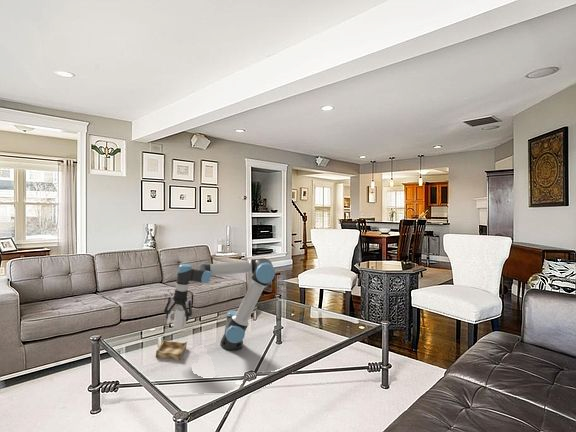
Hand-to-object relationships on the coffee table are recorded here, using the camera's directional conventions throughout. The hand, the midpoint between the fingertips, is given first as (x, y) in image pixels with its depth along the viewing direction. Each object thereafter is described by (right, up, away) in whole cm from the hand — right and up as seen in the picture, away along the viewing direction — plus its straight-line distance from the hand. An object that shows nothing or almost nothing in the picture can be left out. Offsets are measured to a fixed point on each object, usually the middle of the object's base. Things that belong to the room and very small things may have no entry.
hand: (176, 324), depth 212 cm
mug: (0, -2, 0) cm, 2 cm away
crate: (-3, -17, 0) cm, 17 cm away
